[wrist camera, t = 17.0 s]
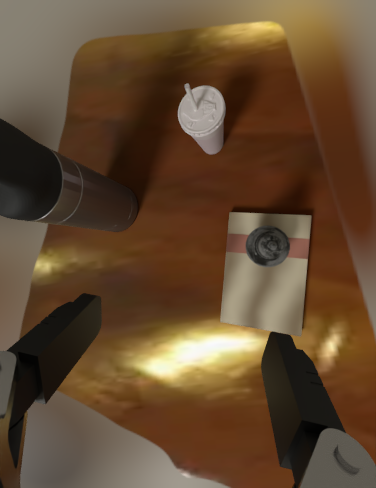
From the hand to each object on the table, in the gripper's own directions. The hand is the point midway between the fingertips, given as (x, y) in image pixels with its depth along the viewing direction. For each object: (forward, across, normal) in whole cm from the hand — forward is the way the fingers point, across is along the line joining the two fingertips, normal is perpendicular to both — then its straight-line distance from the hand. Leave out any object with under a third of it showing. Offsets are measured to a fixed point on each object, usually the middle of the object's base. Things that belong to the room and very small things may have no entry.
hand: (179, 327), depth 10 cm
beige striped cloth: (+25, -10, +7) cm, 28 cm away
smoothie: (+34, +2, -11) cm, 35 cm away
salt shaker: (+25, -9, +3) cm, 27 cm away
